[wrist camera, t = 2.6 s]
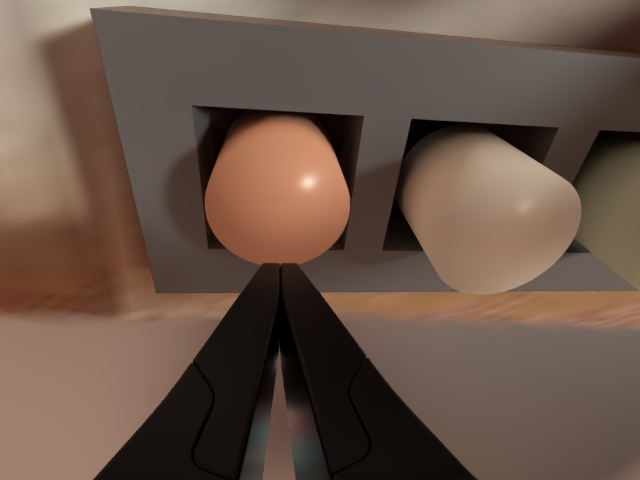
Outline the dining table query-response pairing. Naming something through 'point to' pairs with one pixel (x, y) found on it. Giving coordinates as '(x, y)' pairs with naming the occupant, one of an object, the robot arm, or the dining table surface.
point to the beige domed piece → (485, 209)
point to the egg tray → (359, 136)
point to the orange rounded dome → (277, 189)
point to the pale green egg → (612, 204)
